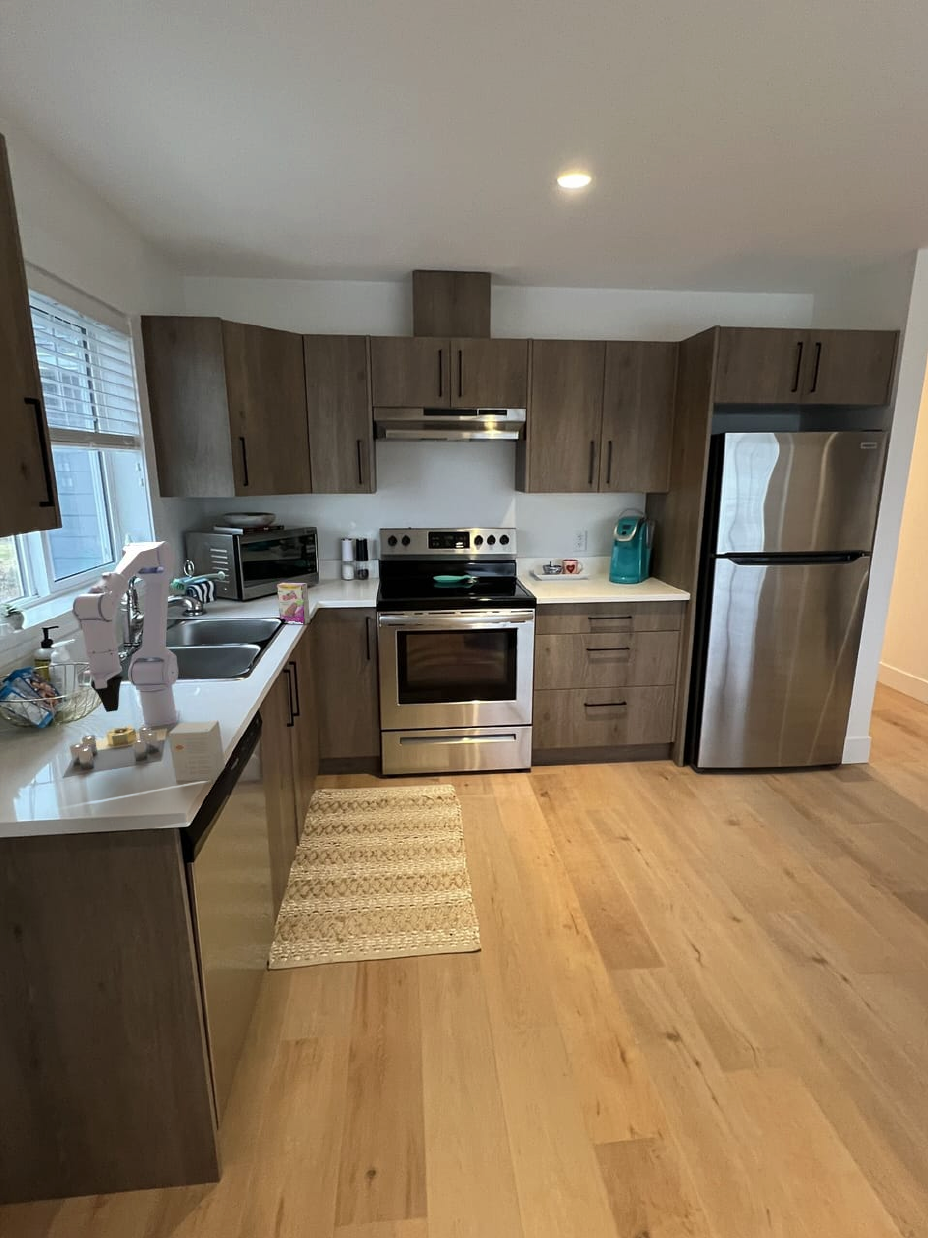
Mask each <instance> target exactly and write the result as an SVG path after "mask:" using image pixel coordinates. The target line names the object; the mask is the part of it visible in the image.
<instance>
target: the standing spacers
mask: <svg viewBox="0 0 928 1238" xmlns="http://www.w3.org/2000/svg"><path fill="white" fill-rule="evenodd" d="M151 731H152V727H142V728H141V727H140V728H139V729H138V733H139V735H140V739H137V740H134V741H133V742H132V743H133V749H134V755H135V760H136V761H142V760H145V759H147V758H148V755H147V753H148V754H152V753H156V752H158V751H159V745H158V739H157V733H156V732H151ZM95 739H96V735H93V734H89V735H85V736H83V737H82V738H81V742H83V744H82V743H81V742H80V743H74V744H71V745H70V746H69V749H70V750H69V751H70V755H71V760H72V761H73V765H74V766H80V765H81V769H82V770H89V769H92V768H93V767H94V766H95V765H94V760H93V756H95V755H97V754H98V752H97V746H96V741H95Z"/></svg>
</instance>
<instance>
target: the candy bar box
mask: <svg viewBox="0 0 928 1238" xmlns="http://www.w3.org/2000/svg"><path fill="white" fill-rule="evenodd" d="M276 589H277V599H278V601H277V602H278V610H279V620H280V619H285V620H288V621H295V622H301V623H303V624H304V625H303V626H305V625H308V624H310V623H311V613H310V603H309V592H308V583H305V582H304V583H303V582H281V583H278V584H276Z"/></svg>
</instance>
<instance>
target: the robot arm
mask: <svg viewBox="0 0 928 1238" xmlns="http://www.w3.org/2000/svg"><path fill="white" fill-rule="evenodd" d="M175 556H176V555H175V552H174V550H173V548H172V546H171V544H170V543H169V542H168V541H165V540H164V541H156V542H153V541H152V542H132V541H131V542H128V543H126V544H125V545H124V547H123V548H122V550H121V557H122V558H121V559H120V561H119V562H118V564H117V565H116V566H115V568H114V570H113V571H108V572H103V573H101V577H100V578H99V579H98V580H97V581H96V582H95V584H94V585H93V586H92V587H91V588H90V589H89V590H88V591H87V593H82V594H79V595H78V596H77V597H76V598H74V600H73V602H72V610H71V613H72V616H73V617H74V619H75V620H76V622H77V625H78V628H79V630H81V631H82V636H83V641H84V646H85V652H86V656H87V664H88V670H85V671H84V672H83V676H84V677H90V678H91V679H92V680H91V682H90V687H91V688H92V689H93V690H94V692H96V694H97V696H98V697H99V699H100V702H101V703H102V705H103V708H104V711H106V713H108V712H116V711H118V710H119V704H120V689H121V684H122V681H123V678H124V674H123V673H121V672H123V668H122V666H121V661H120V656H119V655H120V654H119V649H118V643H117V638H116V631H115V625H114V619H115V618H116V617H117V614H118V607H120V601H121V600H122V598H123V597H125V596H124V595H125V594H126V593H127V592H128V590H129V588H130V585H129V581H130V580H131V579H133V577H134V576H135V577H136V578H137V579H140V580H143V582H144V583H145V599H144V609H143V610H144V612H143V628H142V629H143V630H142V631H143V632H142V644H141V647H140V648H139V649H138V650H136V651H135V652H134V653H133V654H131V661H130V664H129V667H128V671H127V676H128V677H127V678H128V680H129V683H131V685H132V686H133V687H135V689H136V691H138V692H139V696H140V702H141V710H142V716H143V720H142V722H141V726H140V728H142V727H151V728H152V727H157V726H165V725H172V724H177V723H178V721H179V715H180V709H179V708H176V704H175V698H174V692H173V691H174V690H173V689H174V688H173V685H174V684H175V683H176V682H177V680H178V678H179V677H178V676H179V666H178V660H177V655H176V654H175V653H174V652H172V650H170V649H169V648H167V647H166V644H167V627H168V606H169V588H170V580H171V579H172V578H173V577H174V575H175V574H174V573H175V562H176V561H175V560H176V559H175V558H176V557H175Z"/></svg>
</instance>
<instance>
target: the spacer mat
mask: <svg viewBox="0 0 928 1238" xmlns="http://www.w3.org/2000/svg"><path fill="white" fill-rule="evenodd" d="M151 732H156V733H157V739H158V745H159V751H158V752H156V753H152V754H148V753H147V755H148V758H147V759H145V760H142V761H136V760H135V755H134V749H133V743H132V742H131V743H130V744H128V745H121V746H115V747H113V746H112V745H110V744H108V739H107V737H102V738H97V739H96V738H95V741H96V746H97V752H98V754H97V755H95V756H93V760H94V765H95V766H94V767H93V768H92V769H89V770H82V769H81V765H80V766H74V765H73V761H72V759H71V760H70V762H69V765H67V767H66V770H65V772H64V774H63V775H62V778H63V779H64V778H69V777H74V776H75V777H76V776H80V775H87V774H93V773H98V772H104V771H109V770H116V769H122V768H128V767H134V766H139V765H145V764H151V763H155V762H161V761H162V758H163V753H164V749H165V748H164V747H165V743H166V738H167V734H168V733H167V732H168V728H162V729H161V728H160V729H154V730H151ZM136 738H137V739H140V735H139V732H136ZM137 739H136V740H137ZM80 743H82V744H83V742H82V741H80Z"/></svg>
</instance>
